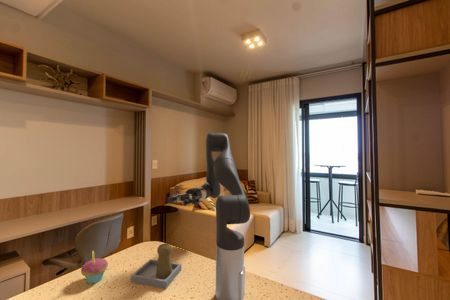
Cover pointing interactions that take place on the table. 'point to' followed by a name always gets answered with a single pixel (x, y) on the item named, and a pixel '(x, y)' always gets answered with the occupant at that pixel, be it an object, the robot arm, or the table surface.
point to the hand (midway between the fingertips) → (175, 201)
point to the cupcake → (94, 269)
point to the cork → (164, 261)
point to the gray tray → (154, 275)
